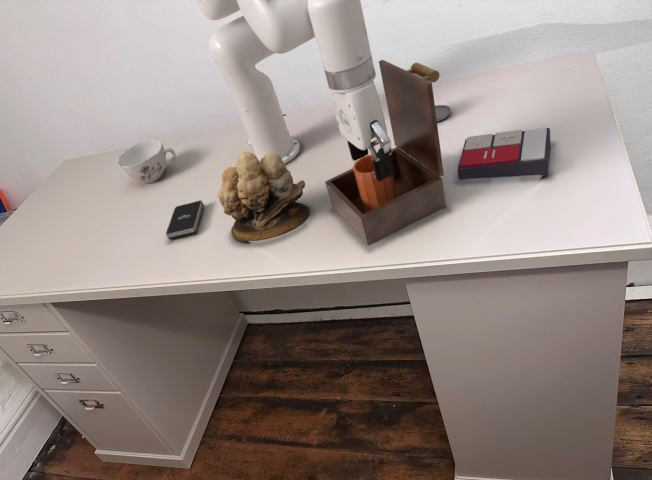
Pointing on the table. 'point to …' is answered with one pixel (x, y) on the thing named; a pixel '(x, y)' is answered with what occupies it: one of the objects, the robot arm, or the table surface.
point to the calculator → (506, 154)
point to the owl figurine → (261, 198)
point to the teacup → (146, 161)
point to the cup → (372, 185)
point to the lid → (413, 112)
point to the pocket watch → (442, 112)
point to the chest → (409, 207)
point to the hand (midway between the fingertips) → (372, 166)
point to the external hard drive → (185, 220)
